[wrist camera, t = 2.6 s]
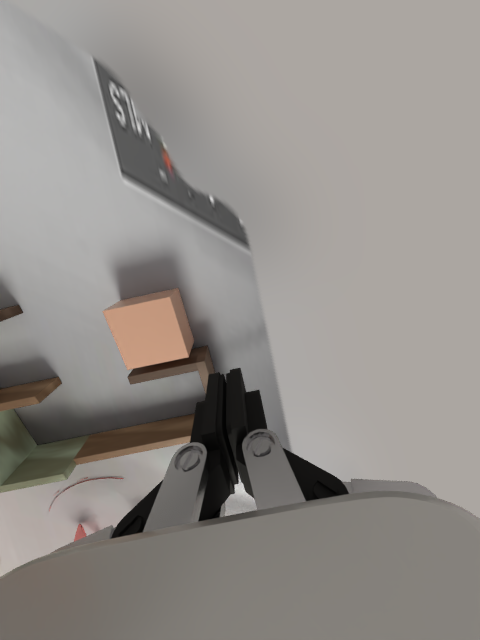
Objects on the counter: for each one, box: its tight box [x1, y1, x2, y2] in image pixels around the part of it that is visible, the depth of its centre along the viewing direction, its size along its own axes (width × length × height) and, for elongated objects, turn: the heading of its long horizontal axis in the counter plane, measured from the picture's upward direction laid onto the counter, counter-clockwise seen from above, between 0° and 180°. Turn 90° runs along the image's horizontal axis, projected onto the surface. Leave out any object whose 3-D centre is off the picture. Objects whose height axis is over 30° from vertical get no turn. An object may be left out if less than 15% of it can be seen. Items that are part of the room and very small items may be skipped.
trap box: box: [0, 305, 215, 493], centre depth 28 cm, size 21×29×6 cm
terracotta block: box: [103, 288, 194, 370], centre depth 27 cm, size 7×7×4 cm
